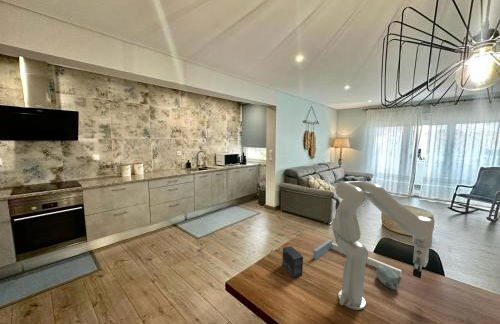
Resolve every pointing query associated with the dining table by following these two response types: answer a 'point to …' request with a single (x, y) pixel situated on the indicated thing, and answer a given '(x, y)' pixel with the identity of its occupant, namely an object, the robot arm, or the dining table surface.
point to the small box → (292, 261)
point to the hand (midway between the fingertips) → (418, 272)
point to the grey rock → (387, 277)
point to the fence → (331, 245)
